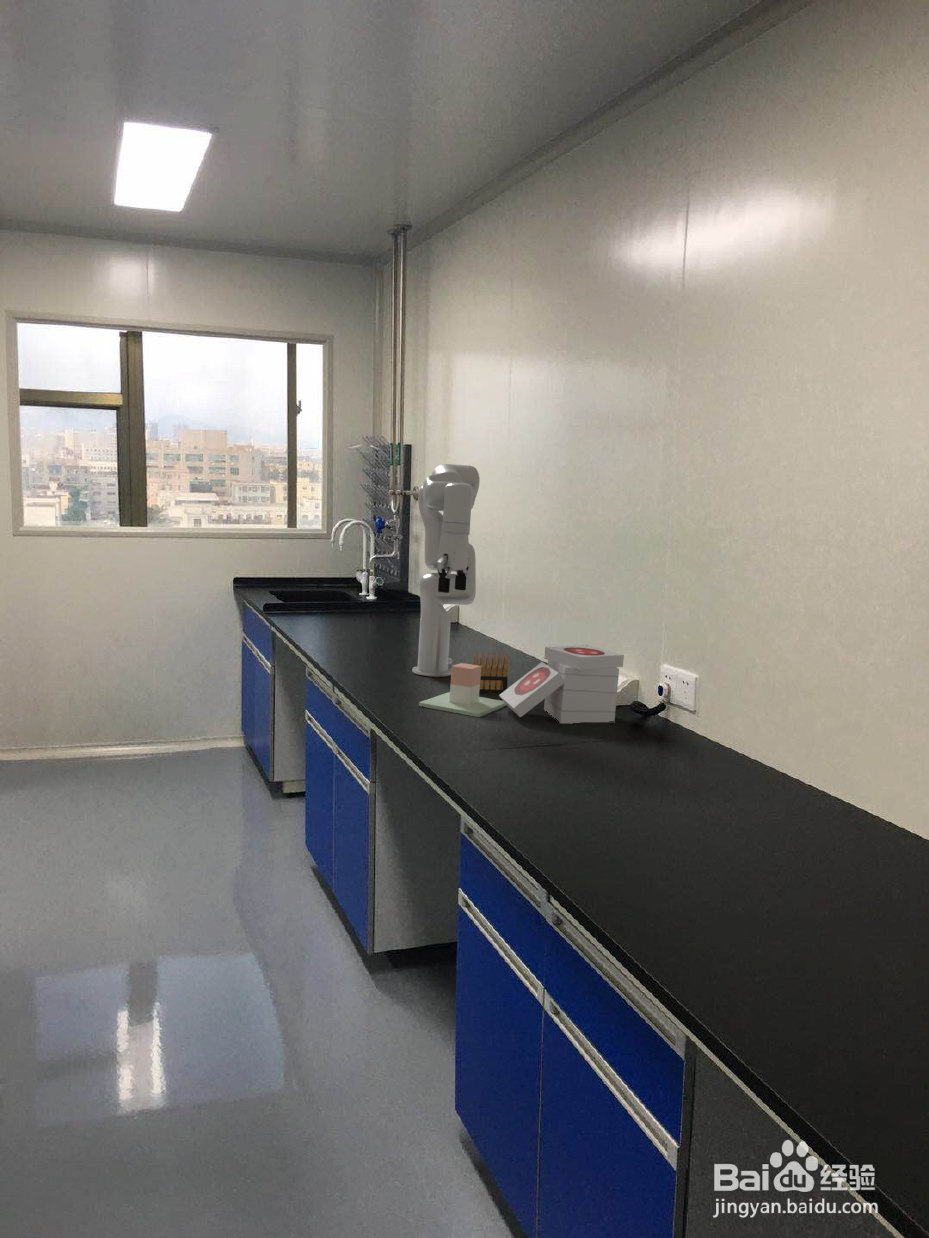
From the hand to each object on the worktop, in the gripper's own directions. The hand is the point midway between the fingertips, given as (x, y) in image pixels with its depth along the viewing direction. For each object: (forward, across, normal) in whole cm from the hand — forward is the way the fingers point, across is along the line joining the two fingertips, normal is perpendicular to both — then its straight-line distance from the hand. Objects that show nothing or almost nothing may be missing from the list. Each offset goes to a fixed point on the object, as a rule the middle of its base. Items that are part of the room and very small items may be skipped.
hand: (451, 591), depth 272 cm
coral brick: (+24, +4, +8) cm, 26 cm away
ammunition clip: (+31, -16, +6) cm, 35 cm away
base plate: (+30, +4, +8) cm, 32 cm away
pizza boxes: (+31, -3, +33) cm, 45 cm away
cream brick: (+29, +4, +8) cm, 31 cm away
